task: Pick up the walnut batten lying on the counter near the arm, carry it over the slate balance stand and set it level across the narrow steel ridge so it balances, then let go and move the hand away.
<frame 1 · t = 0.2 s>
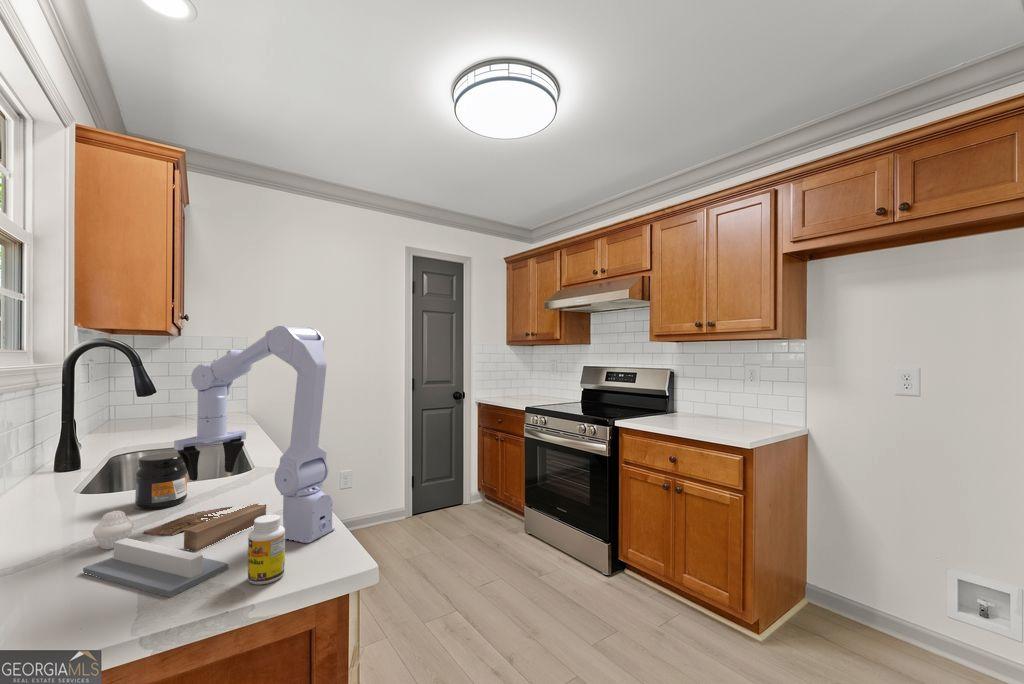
hand: (211, 475, 106), 10 cm above the countertop, tool pointing down, fingers open, 7 cm apart
supplement container: (161, 504, 116), on the countertop
balance stand: (156, 571, 81), on the countertop
supplement bottle: (266, 579, 79), on the countertop
walnut batten: (227, 535, 97), on the countertop
wooden fragment: (213, 519, 107), on the countertop
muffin: (113, 546, 91), on the countertop
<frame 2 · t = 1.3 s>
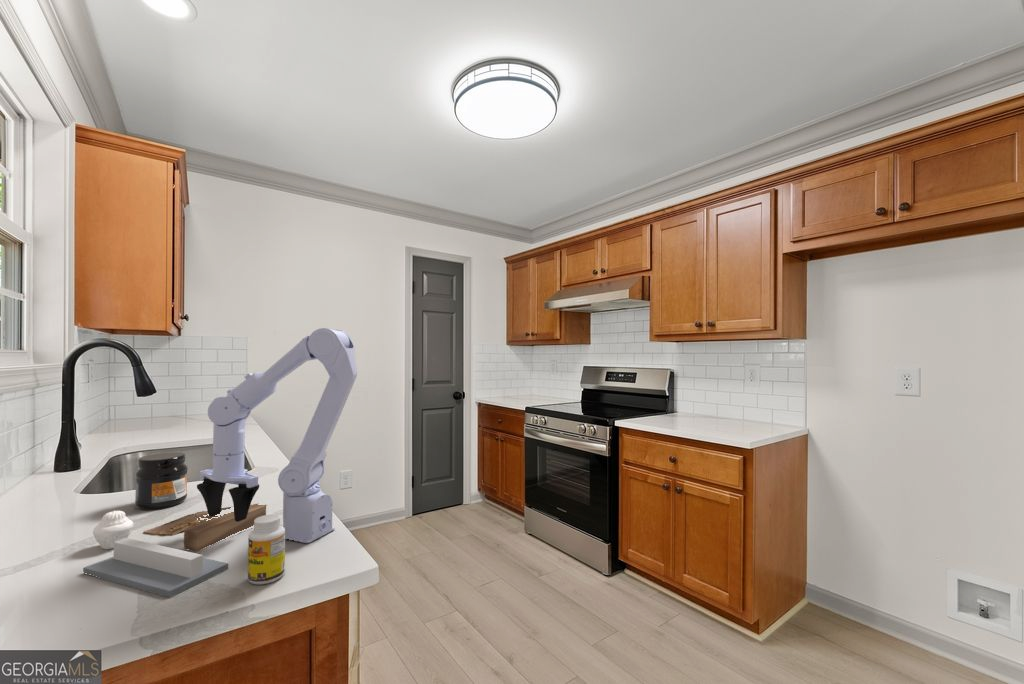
hand: (227, 517, 97), 4 cm above the countertop, tool pointing down, fingers open, 7 cm apart
nothing on the countertop moved.
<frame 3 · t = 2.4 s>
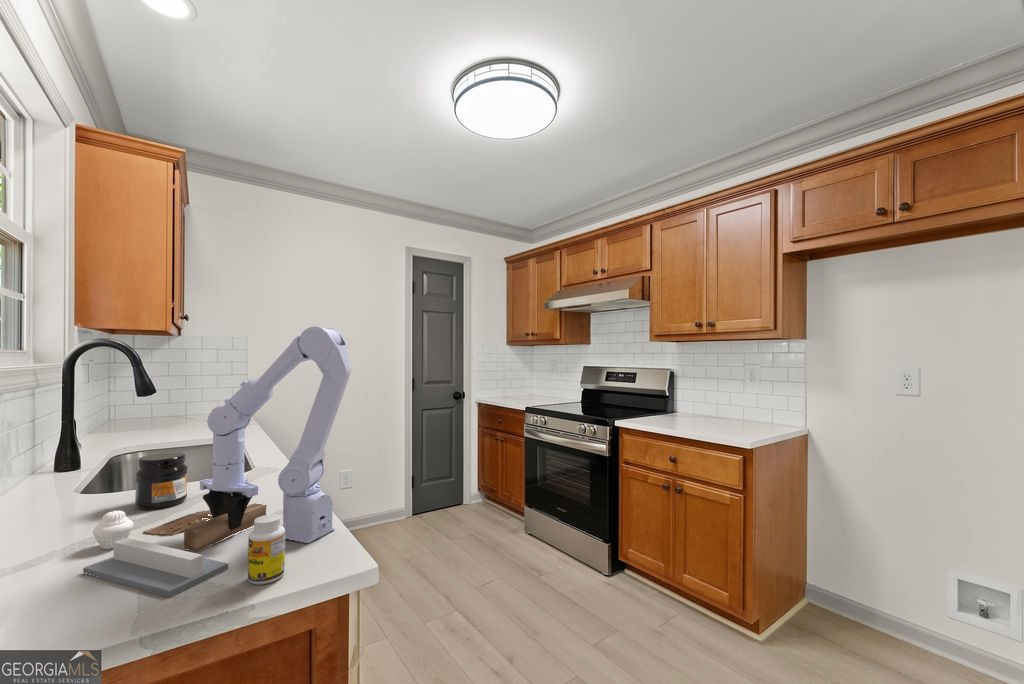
hand: (227, 526, 97), 2 cm above the countertop, tool pointing down, fingers closed on walnut batten, 3 cm apart
walnut batten: (227, 535, 97), on the countertop, touching gripper
everything else where it was.
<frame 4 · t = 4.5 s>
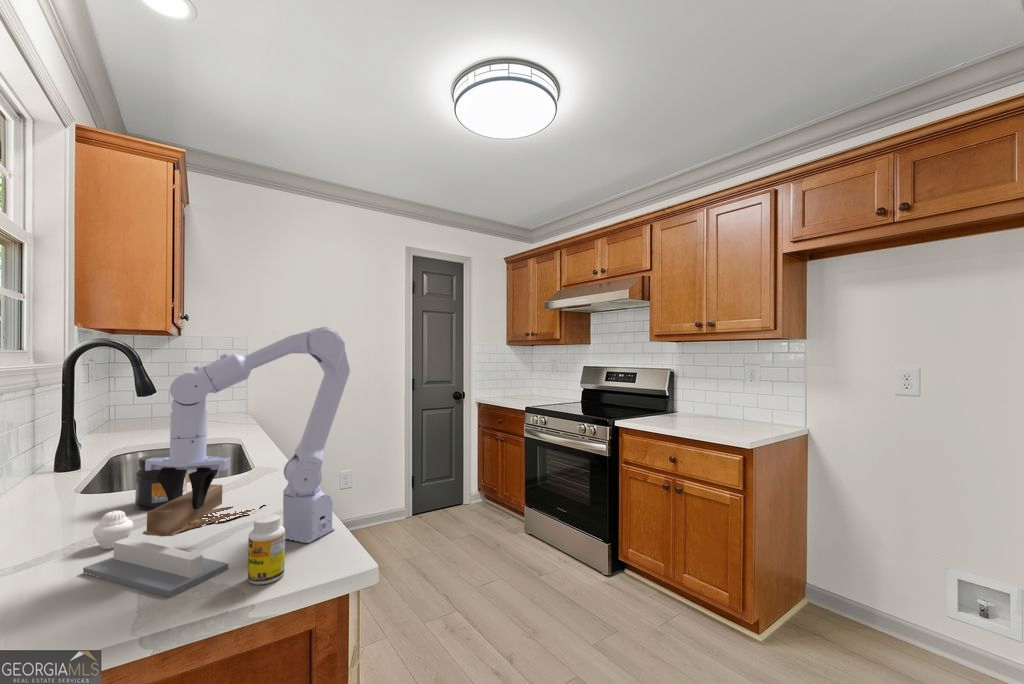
hand: (187, 507, 87), 9 cm above the countertop, tool pointing down, fingers closed on walnut batten, 3 cm apart
walnut batten: (187, 518, 87), point 7 cm above the countertop, touching gripper
everything else where it was.
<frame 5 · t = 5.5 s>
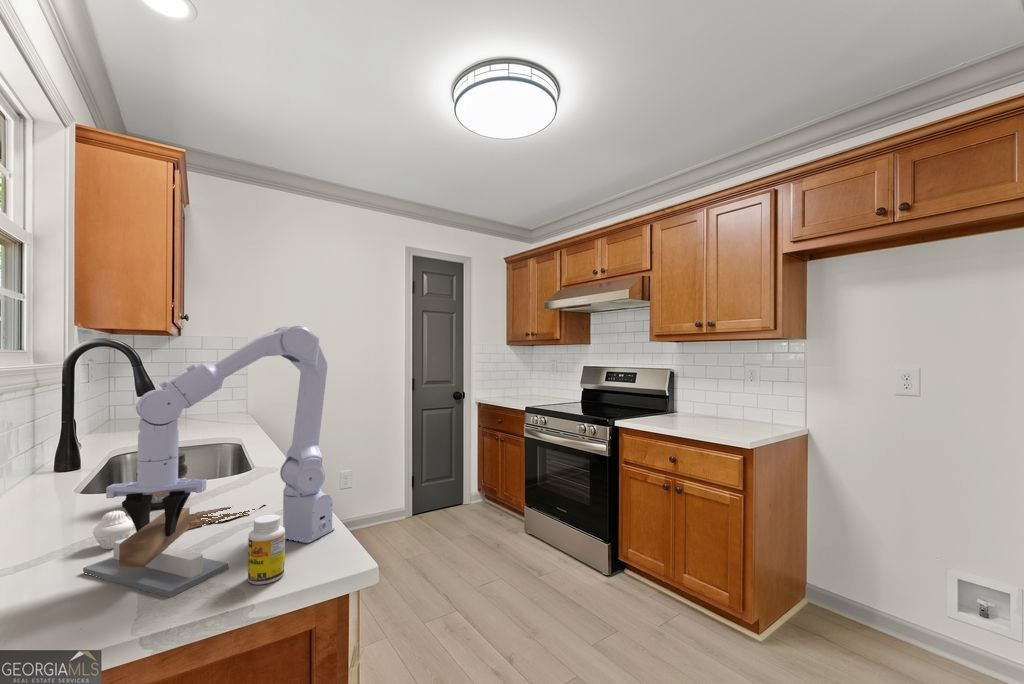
hand: (157, 535, 81), 6 cm above the countertop, tool pointing down, fingers closed on walnut batten, 3 cm apart
walnut batten: (157, 546, 81), point 4 cm above the countertop, touching gripper
everything else where it was.
when the fingers open (6 cm above the countertop, at t = 6.2 s): walnut batten stays where it is, resting on balance stand.
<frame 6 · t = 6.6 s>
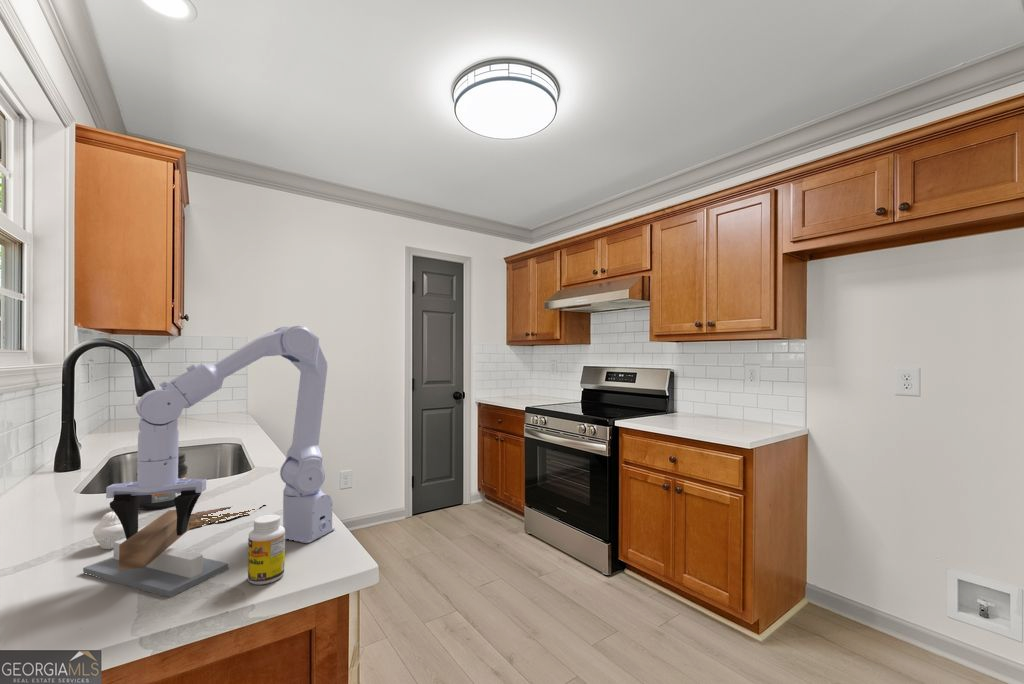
hand: (157, 535, 81), 6 cm above the countertop, tool pointing down, fingers open, 7 cm apart
walnut batten: (157, 547, 81), point 4 cm above the countertop, touching balance stand
everything else where it was.
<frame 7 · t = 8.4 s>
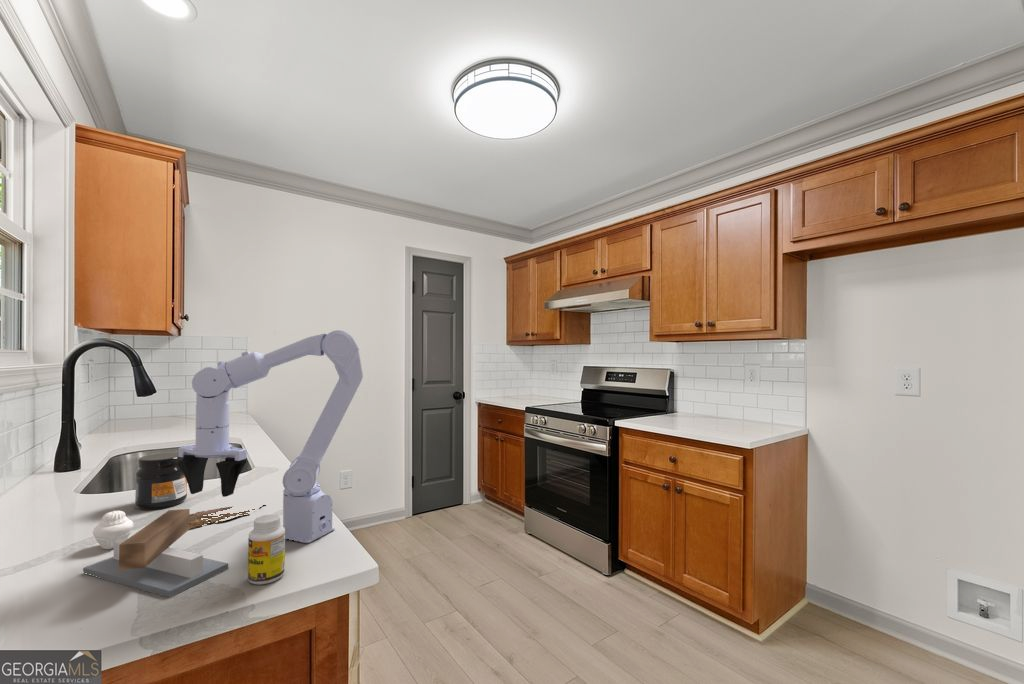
hand: (212, 493, 93), 10 cm above the countertop, tool pointing down, fingers open, 7 cm apart
nothing on the countertop moved.
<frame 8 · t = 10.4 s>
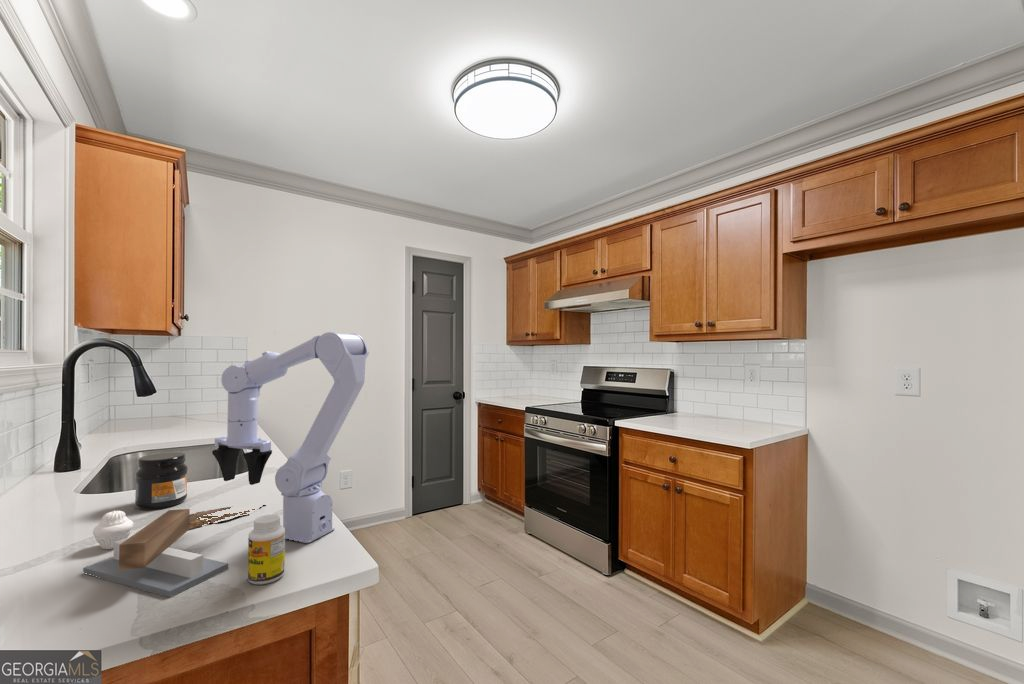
hand: (241, 481, 101), 10 cm above the countertop, tool pointing down, fingers open, 7 cm apart
nothing on the countertop moved.
at the end: walnut batten 0.3 cm off-centre on the balance stand, point 4.0 cm above the balance stand's base; walnut batten tilted 0°; walnut batten touching balance stand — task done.
